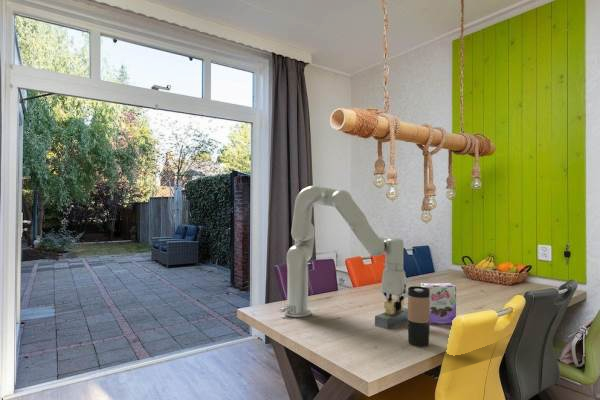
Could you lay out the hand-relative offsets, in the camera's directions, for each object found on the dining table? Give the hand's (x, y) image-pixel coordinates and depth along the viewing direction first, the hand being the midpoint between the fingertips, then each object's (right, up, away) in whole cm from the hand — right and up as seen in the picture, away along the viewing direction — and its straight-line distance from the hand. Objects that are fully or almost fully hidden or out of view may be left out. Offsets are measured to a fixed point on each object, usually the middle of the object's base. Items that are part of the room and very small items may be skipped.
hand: (394, 309), depth 157 cm
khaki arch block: (0, -3, 0) cm, 3 cm away
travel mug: (+3, -6, -24) cm, 25 cm away
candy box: (+19, -6, +1) cm, 20 cm away
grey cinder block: (0, -6, 0) cm, 6 cm away
